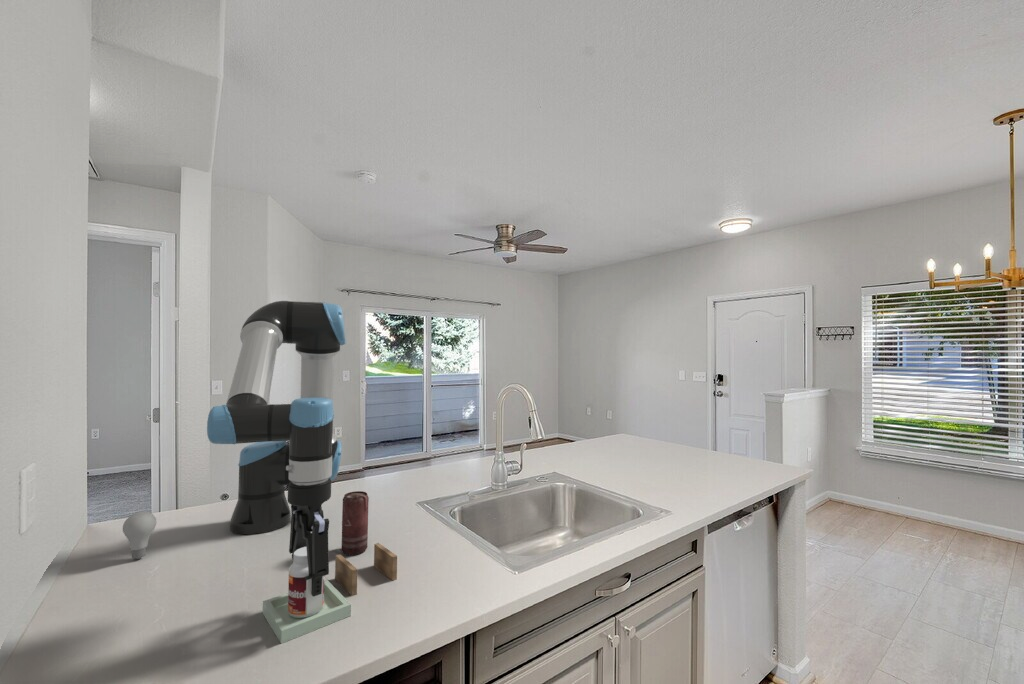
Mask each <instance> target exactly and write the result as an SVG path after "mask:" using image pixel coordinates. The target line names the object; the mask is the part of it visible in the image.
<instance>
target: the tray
mask: <svg viewBox="0 0 1024 684" xmlns="http://www.w3.org/2000/svg"><path fill="white" fill-rule="evenodd" d="M262 614H263V615H264V617H265V619H266V622H267V623H268V624H269V626H270V627H271V629H272V631H273V633H274V634H275V636H276V637H277V639H278V641H279V642H280V644H284V643H286V642H289V641H291V640H294V639H296V638H298V637H302V636H304V635H306V634H309V633H311V632H314V631H316V630H319V629H321V628H323V627H326V626H328V625H331V624H334V623H336V622H340V621H341V620H344V619H346V618H349V617H351V615H352V604H351V602H349V601H348V600H347V599H346V598H345V596H344V595H342V593H341V592H340V591H339V590H338V589H337V588H336V587H334V585H333V584H332V583H331V582H330V581H329V580H328V579H326V580H325V579H324V605H323V607H322V610H320V611H319V612H317V613H316V614H314V615H312V616H309V617H305V618H294V617H292V616H290V615H289V613H288V592H286V593H284V594H281V595H278V596H275V597H272V598H269V599H266V600H263V601H262Z"/></svg>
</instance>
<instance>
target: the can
mask: <svg viewBox="0 0 1024 684" xmlns="http://www.w3.org/2000/svg"><path fill="white" fill-rule="evenodd" d="M369 498H370V497H369V495H368V493H367V492H366V491H359V490H358V491H350V492H348V493H345V494H344V495H343V498H342V512H341V513H342V514H341V515H342V516H341V520H342V521H341V546H340V547H341V553H342V554H343V555H346V556H350V557H351V556H358V555H362V554H363V553H365V552H366V550H367V549H368V542H369V541H368V539H369V538H368V537H369V534H368V533H369V502H370V501H369Z"/></svg>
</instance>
